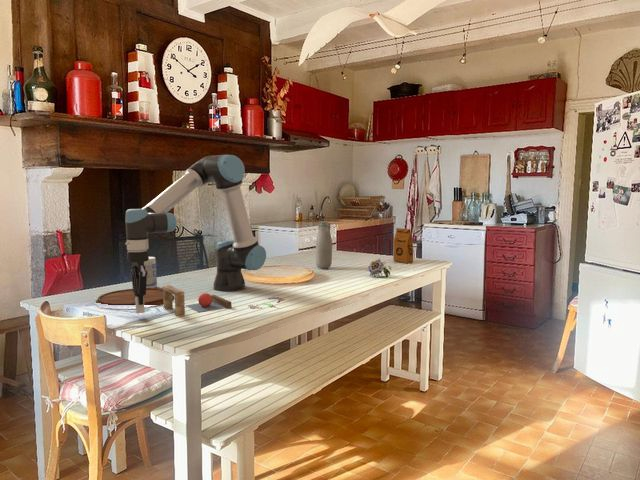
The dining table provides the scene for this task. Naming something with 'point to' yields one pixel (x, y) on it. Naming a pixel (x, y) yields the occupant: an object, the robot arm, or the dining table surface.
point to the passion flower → (378, 268)
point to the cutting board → (132, 297)
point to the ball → (205, 299)
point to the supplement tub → (151, 272)
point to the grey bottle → (324, 246)
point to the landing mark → (200, 308)
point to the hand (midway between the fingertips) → (140, 312)
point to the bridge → (178, 299)
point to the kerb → (221, 301)
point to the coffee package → (403, 246)
